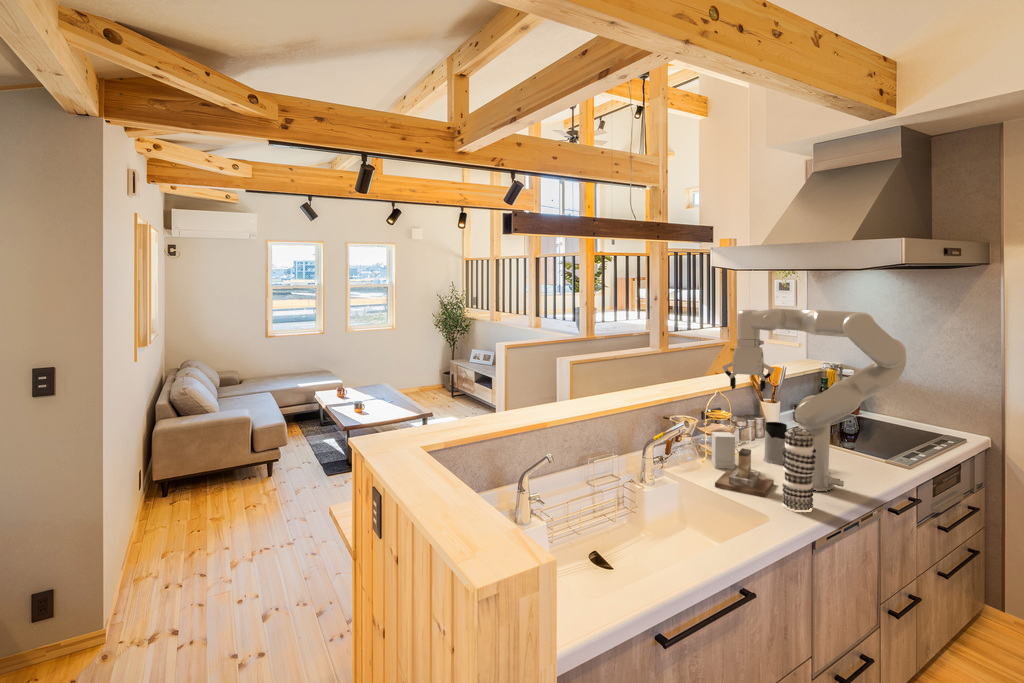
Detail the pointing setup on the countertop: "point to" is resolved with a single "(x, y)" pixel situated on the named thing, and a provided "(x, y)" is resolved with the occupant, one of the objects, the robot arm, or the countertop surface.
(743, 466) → the brown upright block
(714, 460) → the supplement box
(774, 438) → the glass holder
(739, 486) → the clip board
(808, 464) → the decorative candle
